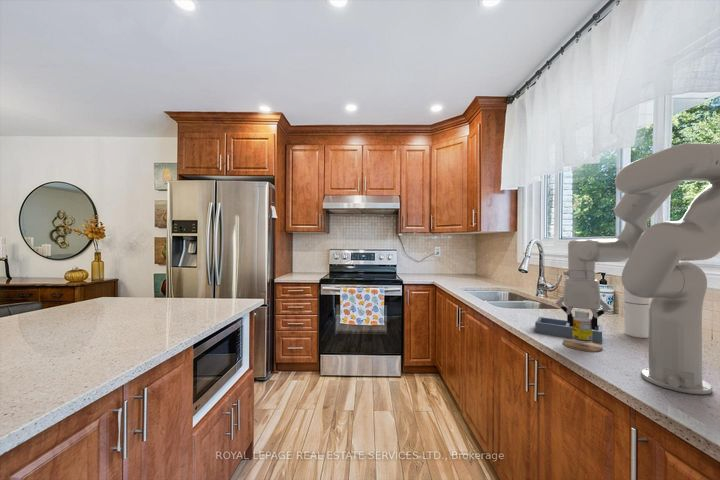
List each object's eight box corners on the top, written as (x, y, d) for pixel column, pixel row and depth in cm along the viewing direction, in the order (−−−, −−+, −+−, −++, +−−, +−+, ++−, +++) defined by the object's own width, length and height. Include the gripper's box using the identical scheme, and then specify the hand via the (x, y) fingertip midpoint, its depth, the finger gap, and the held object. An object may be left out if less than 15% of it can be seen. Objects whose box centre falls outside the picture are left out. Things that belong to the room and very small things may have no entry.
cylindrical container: (631, 337, 114) (631, 271, 114) (620, 331, 121) (619, 269, 121) (654, 338, 112) (653, 272, 113) (641, 332, 119) (640, 270, 120)
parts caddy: (602, 343, 107) (602, 331, 107) (535, 332, 121) (535, 322, 121) (602, 335, 116) (602, 325, 116) (539, 326, 129) (539, 316, 129)
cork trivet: (602, 354, 97) (602, 352, 97) (561, 346, 103) (561, 345, 104) (602, 345, 105) (602, 343, 105) (564, 338, 112) (564, 337, 112)
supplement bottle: (571, 337, 108) (570, 309, 108) (590, 339, 105) (590, 310, 105) (573, 342, 103) (573, 312, 103) (594, 344, 100) (593, 314, 100)
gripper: (551, 274, 107) (551, 325, 107) (614, 277, 96) (614, 334, 96) (553, 273, 113) (554, 321, 113) (613, 275, 102) (614, 329, 102)
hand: (582, 326), depth 104 cm, fingers open, 5 cm apart
